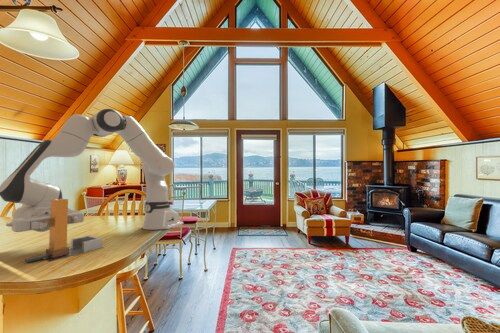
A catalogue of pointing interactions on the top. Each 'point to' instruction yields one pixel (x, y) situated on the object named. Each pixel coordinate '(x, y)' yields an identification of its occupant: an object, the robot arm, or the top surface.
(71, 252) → the rail plate
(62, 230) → the orange upright panel
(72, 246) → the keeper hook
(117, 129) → the robot arm
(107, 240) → the top surface
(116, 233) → the top surface
